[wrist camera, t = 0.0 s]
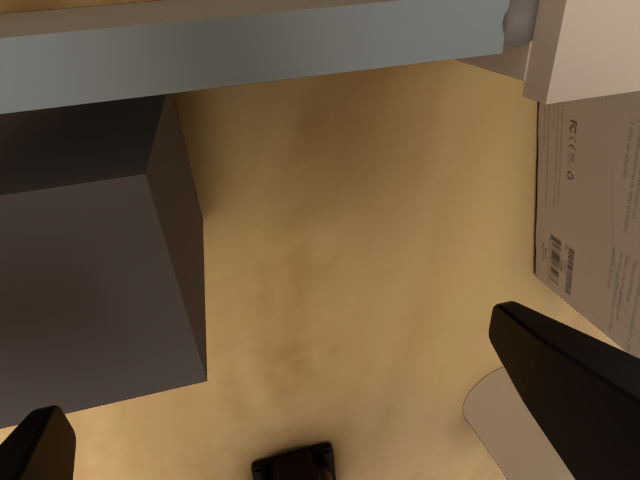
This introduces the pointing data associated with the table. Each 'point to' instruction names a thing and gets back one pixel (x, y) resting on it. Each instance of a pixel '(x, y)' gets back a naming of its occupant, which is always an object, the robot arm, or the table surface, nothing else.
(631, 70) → the wall frame
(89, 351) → the doorstop block
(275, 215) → the table surface
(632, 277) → the hard drive box
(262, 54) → the door
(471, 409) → the water bottle
